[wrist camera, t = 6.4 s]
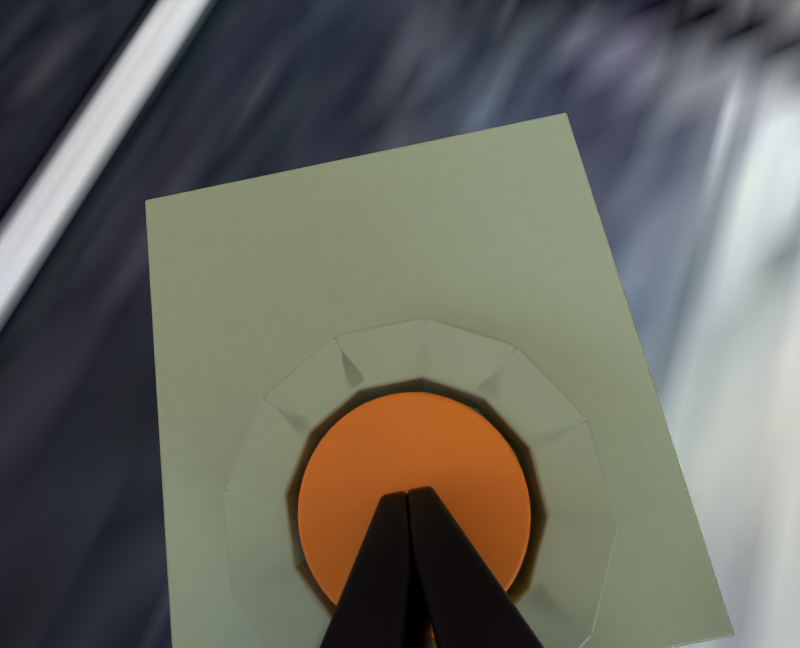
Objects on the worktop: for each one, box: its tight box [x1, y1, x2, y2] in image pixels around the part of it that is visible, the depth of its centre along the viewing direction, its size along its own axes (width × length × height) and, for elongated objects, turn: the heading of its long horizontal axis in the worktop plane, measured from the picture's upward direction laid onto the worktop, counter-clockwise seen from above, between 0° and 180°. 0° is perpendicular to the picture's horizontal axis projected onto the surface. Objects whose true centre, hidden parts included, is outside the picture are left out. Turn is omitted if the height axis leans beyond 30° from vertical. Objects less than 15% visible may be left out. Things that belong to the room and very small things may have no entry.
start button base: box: [145, 113, 734, 648], centre depth 14 cm, size 12×11×7 cm
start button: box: [298, 392, 531, 637], centre depth 10 cm, size 4×4×2 cm
